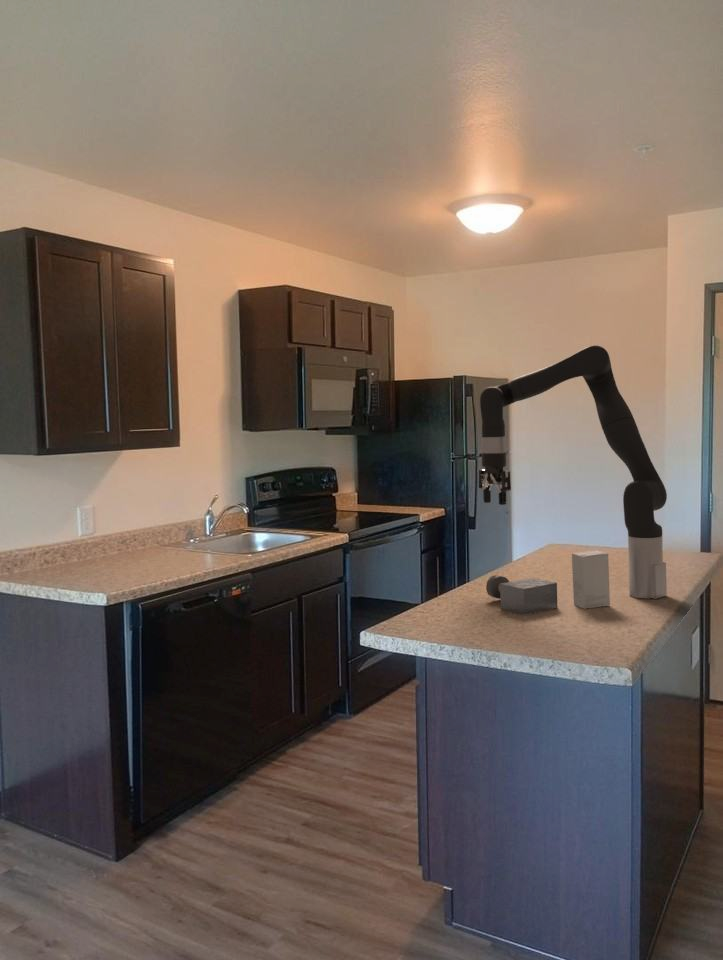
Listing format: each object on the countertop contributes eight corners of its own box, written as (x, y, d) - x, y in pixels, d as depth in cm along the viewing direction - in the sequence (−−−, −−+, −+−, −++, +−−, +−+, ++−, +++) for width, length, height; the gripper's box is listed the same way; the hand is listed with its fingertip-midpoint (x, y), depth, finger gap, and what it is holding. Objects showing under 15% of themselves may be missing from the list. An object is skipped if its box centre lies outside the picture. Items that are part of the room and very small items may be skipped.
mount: (500, 608, 216) (500, 583, 215) (533, 602, 222) (532, 577, 222) (524, 614, 208) (523, 588, 207) (557, 608, 214) (556, 582, 213)
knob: (486, 598, 225) (485, 576, 225) (503, 595, 229) (502, 573, 228) (512, 605, 216) (511, 582, 216) (529, 601, 219) (528, 579, 219)
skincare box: (599, 602, 219) (597, 549, 218) (611, 606, 213) (609, 552, 212) (572, 605, 216) (570, 552, 215) (583, 609, 211) (582, 555, 210)
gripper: (517, 451, 238) (518, 504, 239) (491, 450, 251) (492, 501, 252) (496, 452, 234) (497, 506, 236) (471, 451, 248) (472, 502, 249)
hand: (494, 503), depth 244 cm, fingers open, 8 cm apart
